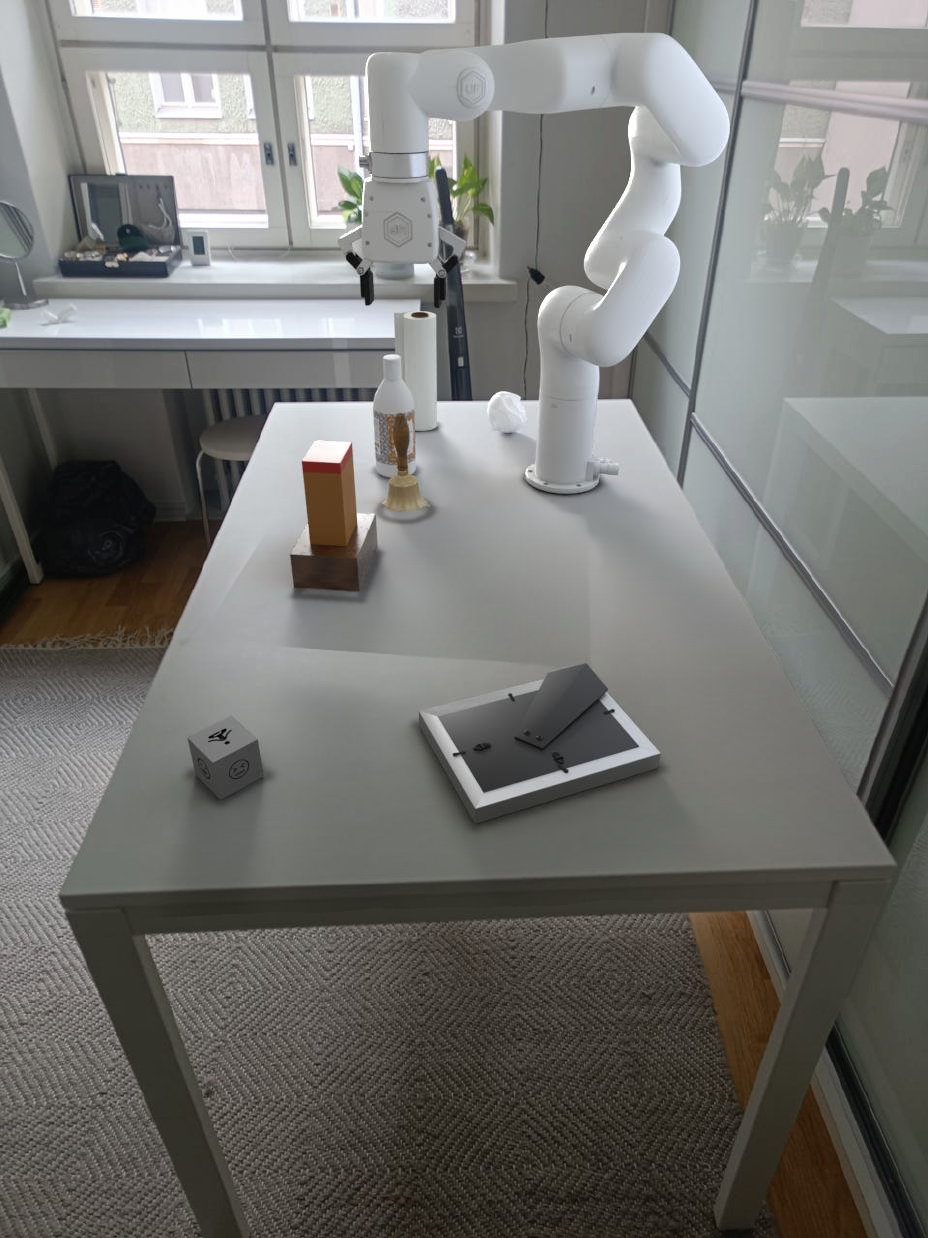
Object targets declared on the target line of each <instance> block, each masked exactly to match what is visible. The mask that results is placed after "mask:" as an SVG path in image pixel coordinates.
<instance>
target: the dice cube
mask: <svg viewBox="0 0 928 1238" xmlns="http://www.w3.org/2000/svg"><path fill="white" fill-rule="evenodd" d="M187 742H188V747H189V751H190V755H191V760H192V764H193V769H194V774H195V775H196V776H197V777H198V779H199V780H200V781H201V782H202V783H203V784H204V785H205V786H206V787H207V788H208V789H209V790H210V791H211V792H212V793H213V794H214V795H215V796H216V797H217V798H218V799H219V800H220V801H221V800H223V799H225V798H227V797H229V796H231V795H232V794H234V793H237V792H238V791H240V790H242V789H244V788H245V787H247V786H250V785H251V784H252V783H254V782H256V781H258V780H259V779H261V778H263V777H264V776H265V775H264V768H263V762H262V756H261V750H260V744H259V739H258V737H256V735H254V734H253V733H252V732H250V730H249V729H248V728H246V727H245V726H244V725H243V724H242V723H241V722H240V721H239V720H237V718H235V717H234V716H233V714H231V715H229V716H228V717H227V716H226V717H225V718H223V719H221V720H219V721H217V722H215V723H213V724H211V725H209V726H207V727H204V728H203V729H201V730H199V731H197V732H195V733H193V734H191V735H189V736H187Z"/></svg>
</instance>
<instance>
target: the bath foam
mask: <svg viewBox="0 0 928 1238" xmlns="http://www.w3.org/2000/svg"><path fill="white" fill-rule="evenodd" d="M382 367H383V379H382V381H381V383H380V384H379V386H378V388H377V390H376V392H375V393H374V396H373V403H372V416H373V433H374V434H373V435H374V454H375V469H376V472H377V473H378V474H379V475H380V476H382V477H386V478H390V479H391V477H393V476H395V475H397V471H398V469H397V466H398V465H397V451H396V448H395V445H394V441H393V426H394V422H395V419H396V414H397V413H404V414H405V418H406V421H407V424H408V427H409V432H410V440H409V446H408V450H407V461H408V473H409V474H410V475H413V474H414V473H415V472H416V468H417V462H416V461H417V456H416V455H417V453H416V430H415V407H414V401H413V397H412V394H411V392H410V390H409V389H408V387H407V385H406V384H405V383H404V381H403V380H402V378H401V357H400V356H399V355H395V354H386V355H384V356H383V357H382Z"/></svg>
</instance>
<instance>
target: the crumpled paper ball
mask: <svg viewBox="0 0 928 1238" xmlns="http://www.w3.org/2000/svg"><path fill="white" fill-rule="evenodd" d="M521 398H522V397H521V396H520V395H518V394H516V393H513V392H511V391H506V390H505V391H504V390H503V391H498V392H496V393H495V394H494V395H493V396H492V397H491V398H490V400H489V402H488V404H487V410H486V411H487V412H486V414H487V419H488V422H489V423H490V425H491V426H492V428H494V429H495V430H497V431H498V432H501V433H508V434H510V433H514V432H517V431H519V430H521V429H522V428H523V427H524V425H525V424H526V422H527V420H528V419H527V409H526V408H525V406H524V404H522V402H521V400H522V399H521Z"/></svg>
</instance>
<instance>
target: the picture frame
mask: <svg viewBox="0 0 928 1238" xmlns="http://www.w3.org/2000/svg"><path fill="white" fill-rule="evenodd" d="M608 691H609V688H608V687H607V686H606V684H605V682H603V681H602V680H601V678H600V677H599V676H598V675H597V674H596V673H595V671H594V670H593V669H592V667H591V666H590V665H589V664H588V663H587V662H585V663H581V664H577V665H572V666H570V667H565V668H561V669H558V670H554V671H553V670H552V671H549V672H546V676H545V677H544V678H542V679H538V680H535V681H534V680H533V681H530V682H525V683H522V684H518V685H514V686H510V687H507V688H503V689H499V690H495V691H490V692H487V693H483V694H479V695H475V696H472V697H467V698H463V699H460V700H455V701H452V702H448V703H444V704H440V705H436V706H433V707H432V706H431V707H428V708H424V709H420V710H418V725H419V728H420V729H421V731H422V733H423V735H424V736H425V738H426V740H427V742H428V744H429V745H430V747H431V749H432V751H433V753H434V754H435V755H436V758H437V760H438V761H439V763H440V765H441V766H442V769H443V770H444V772H445V773H446V775H447V777H448V779H449V780H450V782H451V784H452V786H453V787H454V790H455V792H456V793H457V795H458V796H459V798H460V800H461V802H462V803H463V805H464V807H465V808H466V809H465V810H466V811H467V812H468V814H469V816H470V817H471V819H472V821H473V823H474V824H475V825H477V824H480V823H483V822H486V821H490V820H493V819H496V818H500V817H502V816H503V817H504V816H507V815H510V814H512V813H516V812H519V811H522V810H526V809H529V808H532V807H536V806H539V805H542V804H545V803H548V802H552V801H555V800H558V799H562V798H565V797H568V796H572V795H575V794H577V793H582V792H584V791H588V790H591V789H594V788H597V787H601V786H604V785H608V784H611V783H614V782H617V781H620V780H623V779H627V778H630V777H633V776H636V775H640V774H643V773H647V772H650V771H653V770H656V769H659V766H660V760H661V755H662V752H661V751H660V750H659V749H658V748H657V747H656V746H655V745H654V744H653V743H652V742H651V740H650V739H649V738H648V737H647V735H645V733H644V732H643V731H642V730H641V729H640V727H639V726H638V725H637V724H636V723H635V722H634V721H633V720H632V718H631V717H630V716H629V715H628V714H627V713H626V711H624V709H622V707H620V705H619V704H618V703H617V702H616V701H615V699H614V698H613V697H612V696H611V695H610V694H609V693H608Z"/></svg>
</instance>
